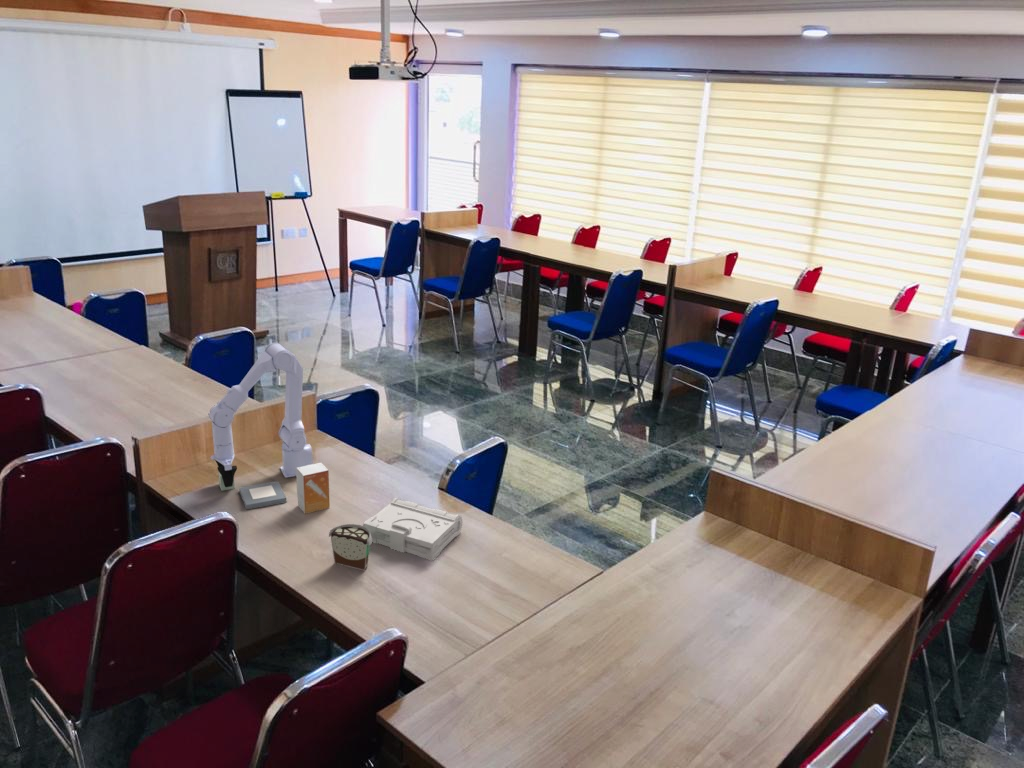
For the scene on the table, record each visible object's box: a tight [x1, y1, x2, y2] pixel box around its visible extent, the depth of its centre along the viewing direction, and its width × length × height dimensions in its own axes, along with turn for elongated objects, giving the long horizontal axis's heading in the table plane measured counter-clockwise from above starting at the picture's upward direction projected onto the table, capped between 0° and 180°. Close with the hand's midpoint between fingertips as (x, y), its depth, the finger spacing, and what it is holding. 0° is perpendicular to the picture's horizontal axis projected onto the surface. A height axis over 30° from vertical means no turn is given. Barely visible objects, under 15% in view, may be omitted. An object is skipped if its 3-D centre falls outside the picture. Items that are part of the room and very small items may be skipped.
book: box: [362, 497, 463, 562], centre depth 243 cm, size 19×28×8 cm
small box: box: [295, 462, 331, 514], centre depth 255 cm, size 8×6×13 cm
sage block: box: [217, 470, 235, 492], centre depth 266 cm, size 4×4×5 cm
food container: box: [328, 523, 372, 571], centre depth 228 cm, size 12×6×10 cm, turn 71°
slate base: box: [238, 480, 288, 510], centre depth 261 cm, size 12×12×2 cm
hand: (226, 481), depth 266 cm, fingers open, 7 cm apart
